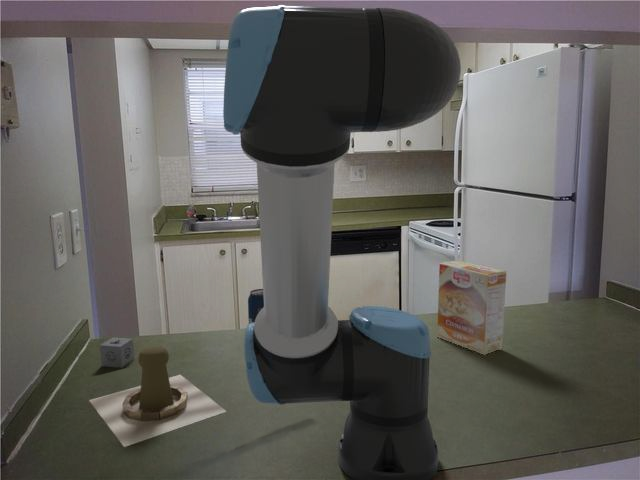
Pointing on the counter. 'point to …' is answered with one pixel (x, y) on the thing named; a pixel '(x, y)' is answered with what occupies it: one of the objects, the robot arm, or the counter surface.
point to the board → (142, 430)
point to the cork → (154, 379)
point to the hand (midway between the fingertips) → (295, 243)
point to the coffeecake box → (471, 305)
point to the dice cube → (117, 352)
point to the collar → (155, 414)
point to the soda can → (255, 304)
